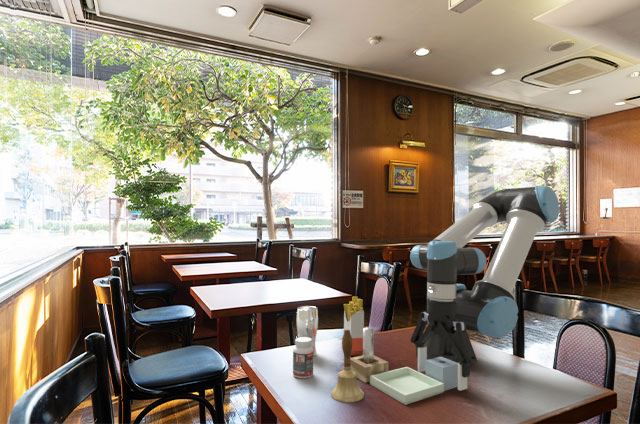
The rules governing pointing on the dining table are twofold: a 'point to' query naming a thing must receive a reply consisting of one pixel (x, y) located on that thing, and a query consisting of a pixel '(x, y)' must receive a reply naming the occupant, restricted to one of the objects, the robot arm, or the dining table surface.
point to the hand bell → (347, 376)
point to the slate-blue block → (443, 371)
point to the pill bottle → (303, 358)
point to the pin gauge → (368, 345)
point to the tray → (406, 385)
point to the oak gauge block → (368, 367)
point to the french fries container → (355, 324)
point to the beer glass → (307, 323)
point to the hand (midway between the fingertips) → (441, 379)
